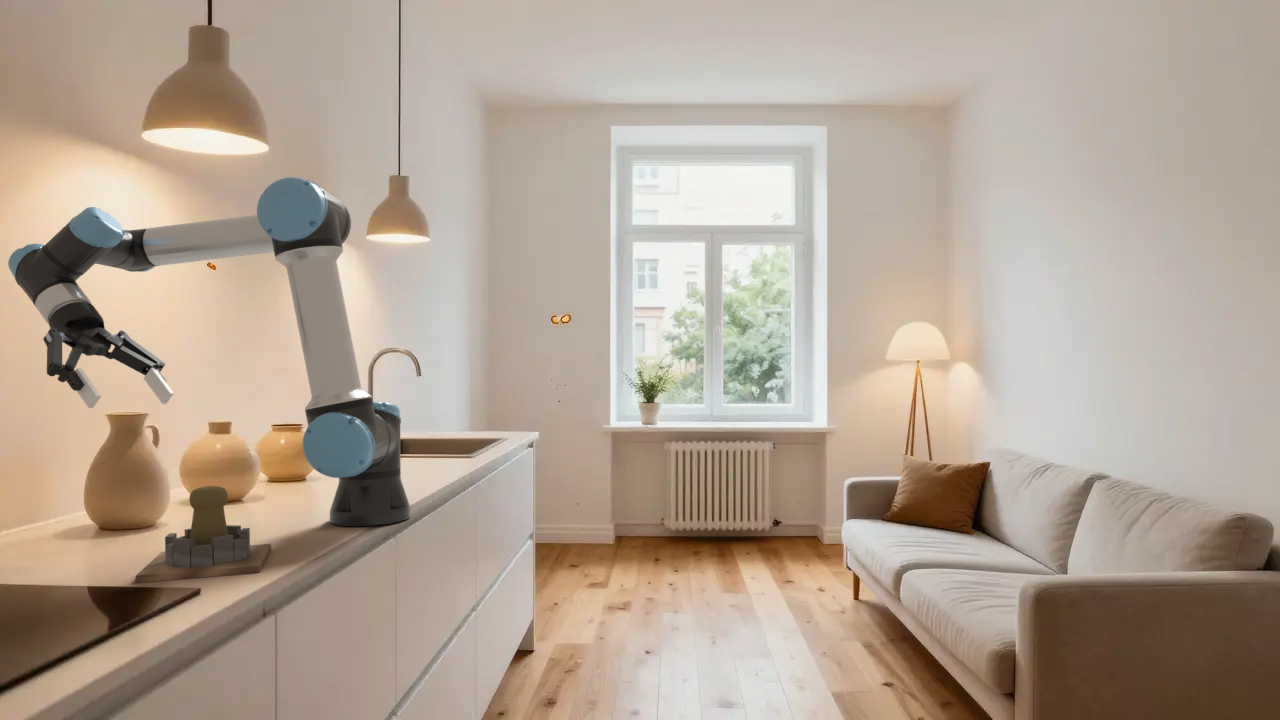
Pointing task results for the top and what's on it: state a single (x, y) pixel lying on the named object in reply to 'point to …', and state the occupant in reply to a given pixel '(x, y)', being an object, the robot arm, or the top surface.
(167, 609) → the top surface
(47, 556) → the top surface
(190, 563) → the collar
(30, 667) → the top surface
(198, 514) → the cork
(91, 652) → the top surface
